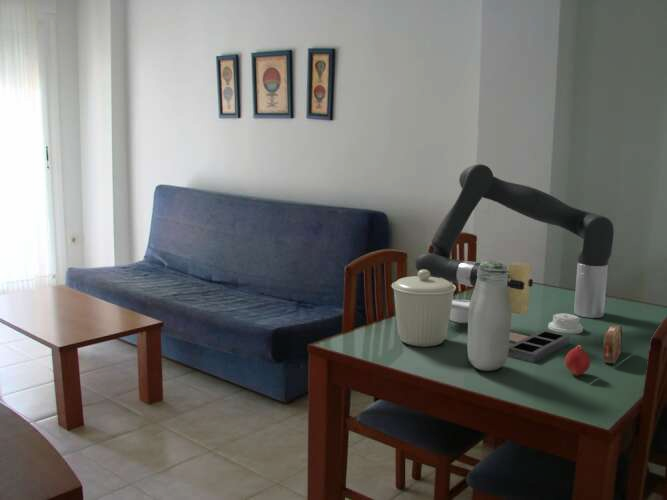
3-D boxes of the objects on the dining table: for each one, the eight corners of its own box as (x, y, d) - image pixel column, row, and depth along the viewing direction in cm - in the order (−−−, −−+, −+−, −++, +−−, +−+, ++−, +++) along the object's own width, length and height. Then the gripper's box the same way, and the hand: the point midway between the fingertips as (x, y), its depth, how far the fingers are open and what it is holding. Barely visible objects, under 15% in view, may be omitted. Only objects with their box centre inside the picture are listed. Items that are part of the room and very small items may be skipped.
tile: (499, 338, 187) (499, 337, 187) (511, 333, 192) (511, 332, 192) (521, 344, 182) (521, 342, 182) (533, 338, 187) (533, 337, 187)
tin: (613, 368, 164) (615, 337, 162) (600, 366, 165) (602, 335, 164) (622, 352, 176) (624, 322, 175) (609, 349, 178) (612, 320, 176)
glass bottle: (483, 378, 156) (488, 266, 151) (459, 364, 166) (463, 258, 161) (515, 372, 160) (522, 263, 155) (490, 359, 169) (495, 255, 164)
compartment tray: (533, 363, 167) (533, 354, 166) (505, 356, 172) (505, 347, 172) (569, 344, 182) (569, 335, 182) (542, 337, 188) (543, 329, 187)
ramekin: (478, 315, 211) (479, 299, 210) (483, 325, 200) (484, 308, 199) (444, 314, 212) (444, 298, 211) (447, 324, 201) (447, 307, 200)
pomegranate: (560, 371, 161) (562, 341, 160) (582, 371, 162) (584, 340, 160) (570, 380, 156) (572, 348, 154) (593, 379, 156) (595, 348, 155)
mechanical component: (550, 333, 192) (585, 336, 191) (551, 319, 192) (586, 321, 190) (546, 324, 202) (579, 326, 200) (547, 310, 201) (580, 312, 199)
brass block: (506, 311, 185) (509, 264, 183) (513, 308, 189) (516, 261, 186) (520, 314, 182) (524, 266, 180) (527, 311, 186) (531, 264, 183)
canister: (416, 328, 197) (418, 260, 193) (466, 341, 184) (469, 270, 180) (377, 341, 184) (378, 269, 180) (427, 356, 172) (430, 280, 168)
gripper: (463, 265, 188) (516, 275, 176) (488, 259, 198) (540, 268, 187) (462, 290, 189) (515, 302, 178) (486, 283, 199) (538, 293, 188)
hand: (527, 284), depth 182 cm, fingers closed on brass block, 4 cm apart
